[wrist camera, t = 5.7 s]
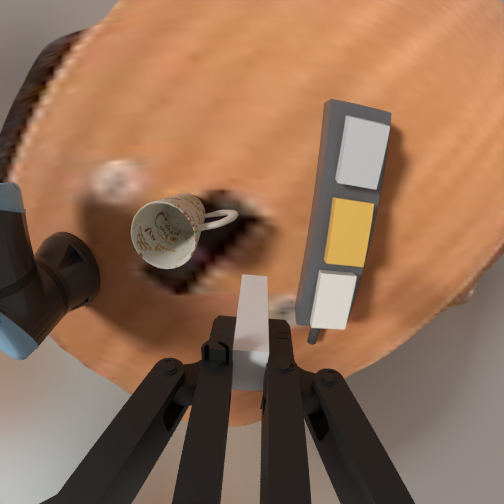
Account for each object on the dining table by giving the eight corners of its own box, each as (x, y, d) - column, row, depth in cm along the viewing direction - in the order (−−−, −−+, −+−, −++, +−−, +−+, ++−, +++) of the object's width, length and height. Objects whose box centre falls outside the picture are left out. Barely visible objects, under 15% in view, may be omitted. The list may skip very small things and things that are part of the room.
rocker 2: (323, 259, 35) (326, 263, 33) (332, 197, 32) (335, 198, 31) (359, 263, 34) (363, 267, 33) (369, 202, 32) (374, 204, 31)
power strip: (289, 334, 48) (290, 355, 43) (324, 103, 32) (332, 98, 27) (331, 337, 47) (336, 357, 42) (378, 114, 32) (394, 112, 27)
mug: (154, 192, 39) (122, 210, 30) (235, 173, 37) (223, 186, 28) (168, 243, 42) (143, 273, 33) (247, 229, 40) (240, 259, 31)
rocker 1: (335, 178, 32) (337, 183, 30) (345, 115, 27) (349, 117, 26) (372, 184, 32) (376, 189, 30) (385, 124, 27) (390, 126, 26)
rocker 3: (309, 322, 38) (311, 327, 37) (319, 269, 37) (321, 273, 35) (342, 324, 38) (344, 329, 37) (353, 272, 37) (356, 276, 35)
